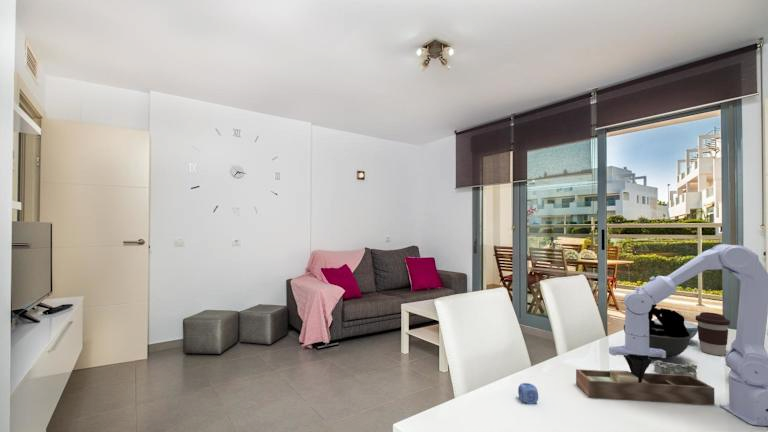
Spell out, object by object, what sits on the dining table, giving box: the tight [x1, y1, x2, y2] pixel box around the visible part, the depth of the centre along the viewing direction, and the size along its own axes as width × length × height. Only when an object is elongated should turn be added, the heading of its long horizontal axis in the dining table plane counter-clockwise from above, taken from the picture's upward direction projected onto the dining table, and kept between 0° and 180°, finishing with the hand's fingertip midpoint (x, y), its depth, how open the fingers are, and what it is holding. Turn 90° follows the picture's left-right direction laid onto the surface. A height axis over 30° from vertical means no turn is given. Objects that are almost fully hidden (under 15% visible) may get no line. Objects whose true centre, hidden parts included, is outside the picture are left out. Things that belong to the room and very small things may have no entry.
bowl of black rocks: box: [623, 303, 692, 359], centre depth 134 cm, size 20×20×19 cm
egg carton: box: [653, 359, 698, 379], centre depth 117 cm, size 11×8×4 cm
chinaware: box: [653, 318, 698, 340], centre depth 153 cm, size 15×15×8 cm
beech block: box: [609, 369, 638, 383], centre depth 103 cm, size 5×5×2 cm
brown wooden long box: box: [575, 368, 715, 406], centre depth 103 cm, size 32×9×4 cm, turn 85°
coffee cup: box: [695, 311, 731, 356], centre depth 139 cm, size 10×10×15 cm
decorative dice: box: [517, 382, 539, 405], centre depth 98 cm, size 4×4×4 cm
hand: (637, 381), depth 103 cm, fingers closed
